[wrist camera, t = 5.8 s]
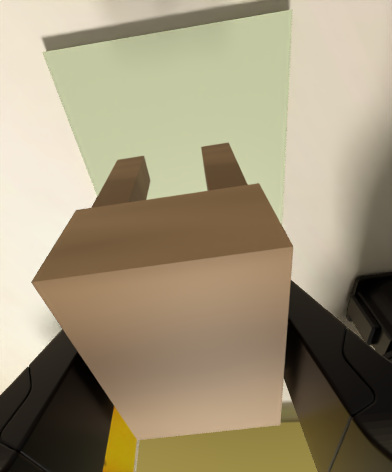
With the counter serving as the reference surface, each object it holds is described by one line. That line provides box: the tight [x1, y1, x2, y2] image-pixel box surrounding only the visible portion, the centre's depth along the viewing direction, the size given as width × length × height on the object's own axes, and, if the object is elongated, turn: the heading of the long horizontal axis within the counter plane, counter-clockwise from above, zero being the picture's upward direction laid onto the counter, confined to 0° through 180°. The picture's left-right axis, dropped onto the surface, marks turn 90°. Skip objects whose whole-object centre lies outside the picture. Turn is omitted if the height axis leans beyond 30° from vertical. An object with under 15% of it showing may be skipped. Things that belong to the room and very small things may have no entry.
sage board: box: [43, 10, 292, 225], centre depth 20 cm, size 14×14×1 cm
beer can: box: [103, 406, 139, 472], centre depth 33 cm, size 6×6×15 cm
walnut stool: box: [31, 142, 293, 440], centre depth 9 cm, size 7×4×6 cm, turn 8°
